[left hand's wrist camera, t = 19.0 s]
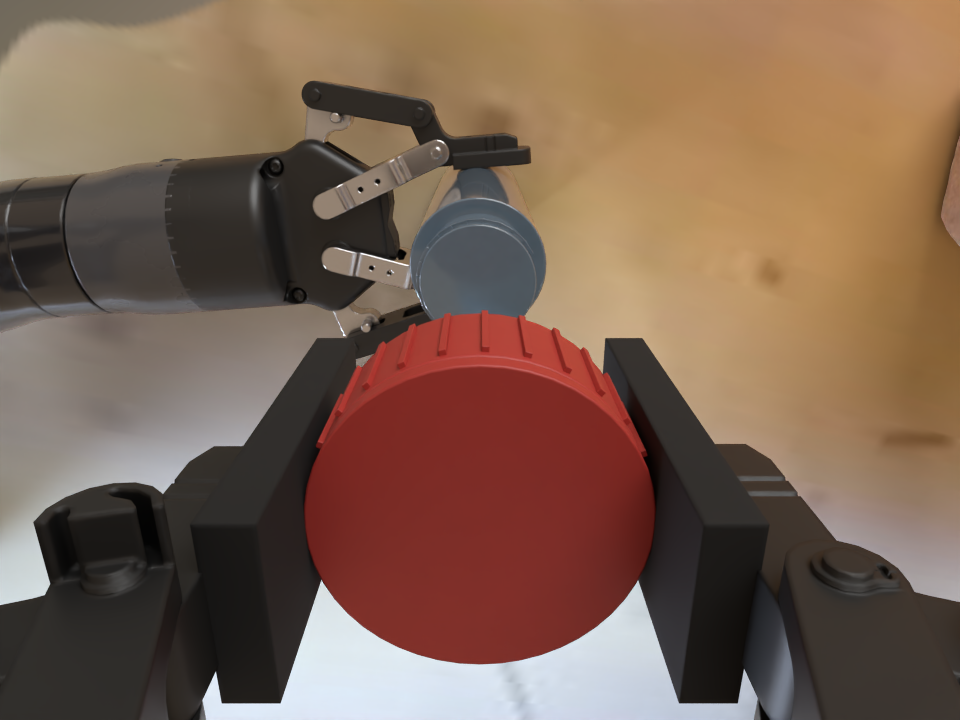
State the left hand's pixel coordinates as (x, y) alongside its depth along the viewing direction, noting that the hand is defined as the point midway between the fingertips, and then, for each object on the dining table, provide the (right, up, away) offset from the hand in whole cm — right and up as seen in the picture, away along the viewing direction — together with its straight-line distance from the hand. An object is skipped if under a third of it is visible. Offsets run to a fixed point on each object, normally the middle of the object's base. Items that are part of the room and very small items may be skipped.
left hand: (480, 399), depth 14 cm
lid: (0, -2, -4) cm, 4 cm away
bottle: (0, +10, +26) cm, 28 cm away
